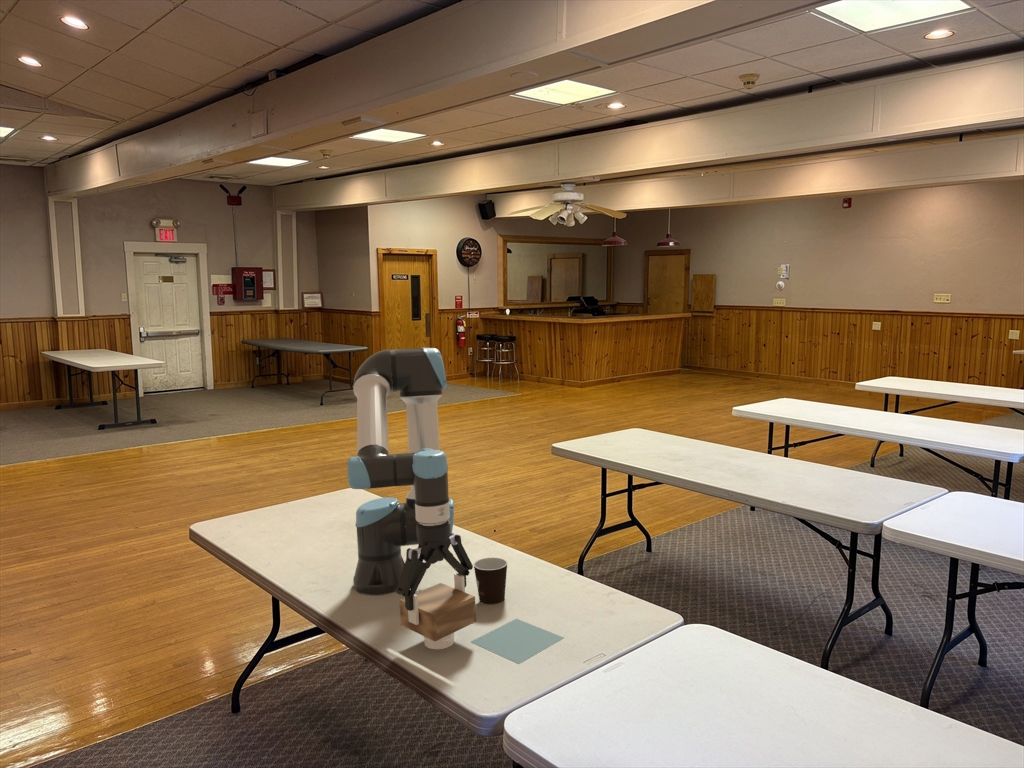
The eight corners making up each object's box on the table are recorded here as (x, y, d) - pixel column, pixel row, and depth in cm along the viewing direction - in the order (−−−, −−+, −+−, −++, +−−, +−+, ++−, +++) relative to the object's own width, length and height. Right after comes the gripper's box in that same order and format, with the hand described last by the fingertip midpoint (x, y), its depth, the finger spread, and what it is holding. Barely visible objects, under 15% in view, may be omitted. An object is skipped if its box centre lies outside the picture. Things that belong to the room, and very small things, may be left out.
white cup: (429, 656, 154) (426, 612, 153) (417, 641, 161) (414, 599, 160) (462, 647, 157) (460, 604, 156) (449, 632, 164) (446, 592, 163)
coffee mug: (504, 609, 176) (503, 570, 175) (471, 607, 178) (469, 569, 176) (514, 590, 187) (512, 553, 186) (482, 588, 189) (481, 552, 188)
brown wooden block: (400, 625, 158) (399, 599, 158) (441, 607, 167) (440, 582, 166) (435, 641, 150) (433, 614, 149) (476, 621, 158) (474, 596, 158)
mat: (470, 644, 158) (470, 641, 158) (516, 620, 169) (516, 618, 169) (518, 666, 148) (518, 663, 148) (564, 640, 159) (564, 637, 159)
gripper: (397, 539, 144) (403, 637, 147) (485, 510, 162) (489, 598, 164) (376, 532, 149) (382, 626, 152) (463, 504, 167) (467, 589, 170)
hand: (437, 612), depth 158 cm, fingers open, 13 cm apart
